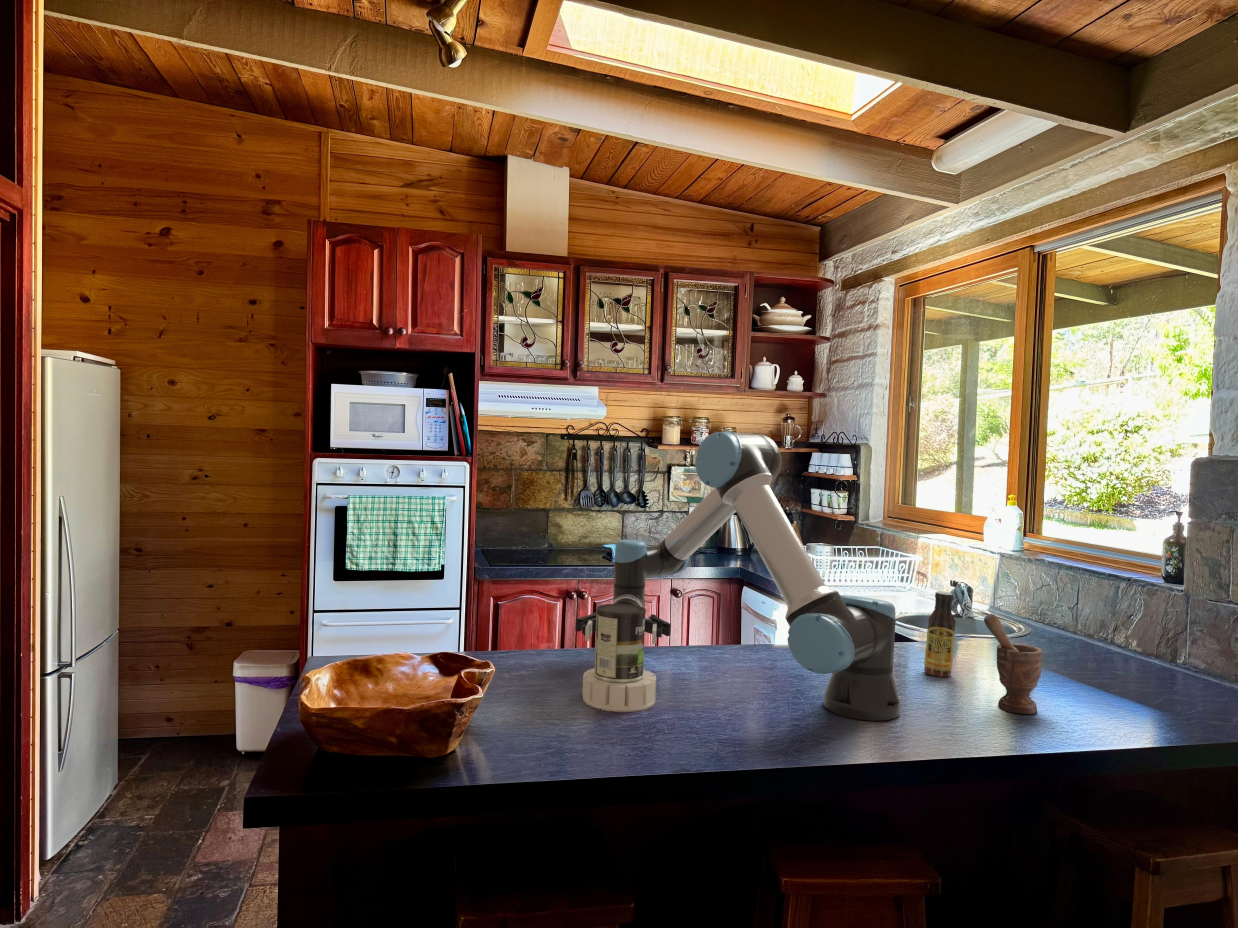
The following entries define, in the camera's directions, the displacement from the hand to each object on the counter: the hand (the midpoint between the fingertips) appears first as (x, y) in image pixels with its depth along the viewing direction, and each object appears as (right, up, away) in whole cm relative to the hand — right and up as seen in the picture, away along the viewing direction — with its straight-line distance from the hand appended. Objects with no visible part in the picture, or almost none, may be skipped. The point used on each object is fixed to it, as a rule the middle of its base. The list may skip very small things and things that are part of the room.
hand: (620, 635), depth 166 cm
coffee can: (0, -9, +3) cm, 10 cm away
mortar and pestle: (+82, -17, +6) cm, 84 cm away
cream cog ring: (0, -14, +3) cm, 14 cm away
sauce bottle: (+77, -16, +31) cm, 84 cm away
